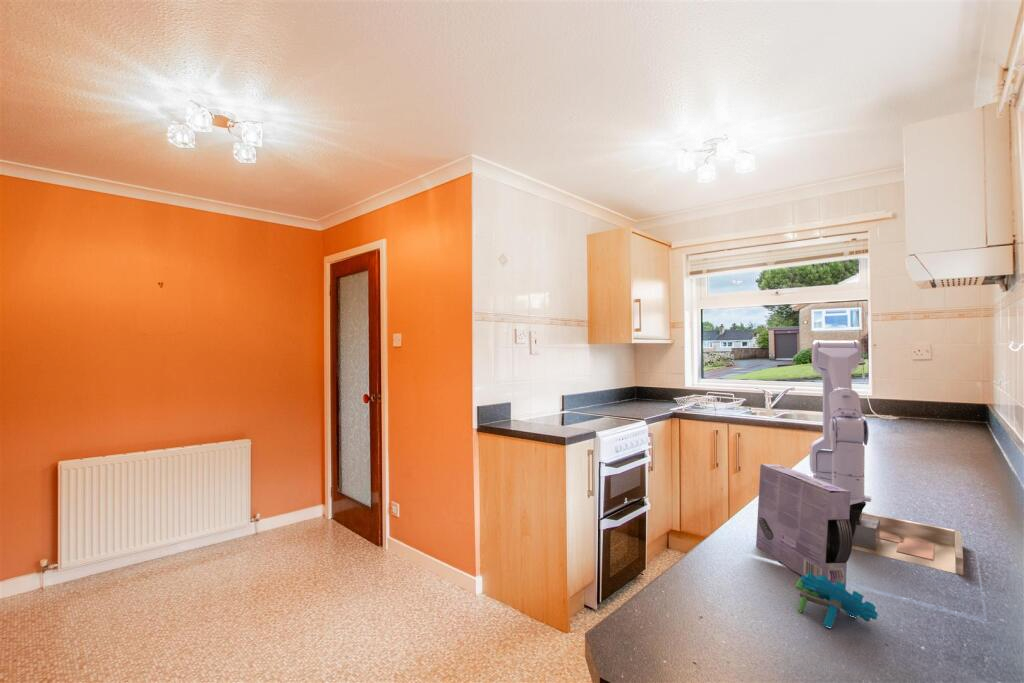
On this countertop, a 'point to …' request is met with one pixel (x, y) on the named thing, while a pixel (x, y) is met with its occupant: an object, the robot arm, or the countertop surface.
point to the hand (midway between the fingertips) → (847, 536)
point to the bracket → (867, 533)
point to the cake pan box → (804, 522)
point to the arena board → (918, 544)
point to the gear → (833, 598)
